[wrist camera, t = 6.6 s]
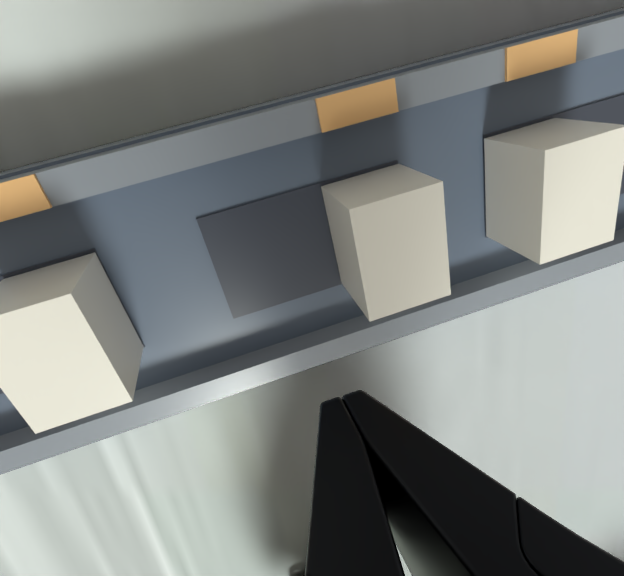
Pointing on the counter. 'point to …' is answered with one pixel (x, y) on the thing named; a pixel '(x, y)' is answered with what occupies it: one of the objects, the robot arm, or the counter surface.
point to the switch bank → (294, 219)
